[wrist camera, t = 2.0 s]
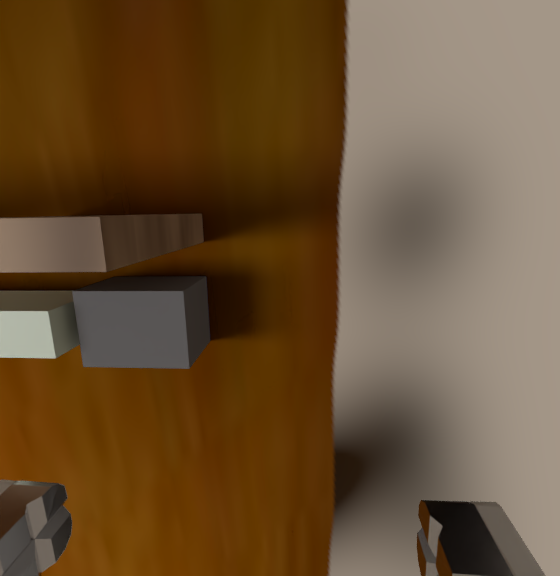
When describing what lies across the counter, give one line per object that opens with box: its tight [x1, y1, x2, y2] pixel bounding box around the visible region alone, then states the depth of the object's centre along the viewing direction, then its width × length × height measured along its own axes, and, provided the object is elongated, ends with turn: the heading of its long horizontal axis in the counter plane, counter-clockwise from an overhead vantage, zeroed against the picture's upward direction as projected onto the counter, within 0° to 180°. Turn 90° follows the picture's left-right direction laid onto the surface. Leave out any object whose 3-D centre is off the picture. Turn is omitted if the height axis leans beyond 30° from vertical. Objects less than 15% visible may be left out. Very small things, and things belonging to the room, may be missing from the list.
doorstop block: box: [72, 276, 210, 369], centre depth 24 cm, size 7×5×5 cm
